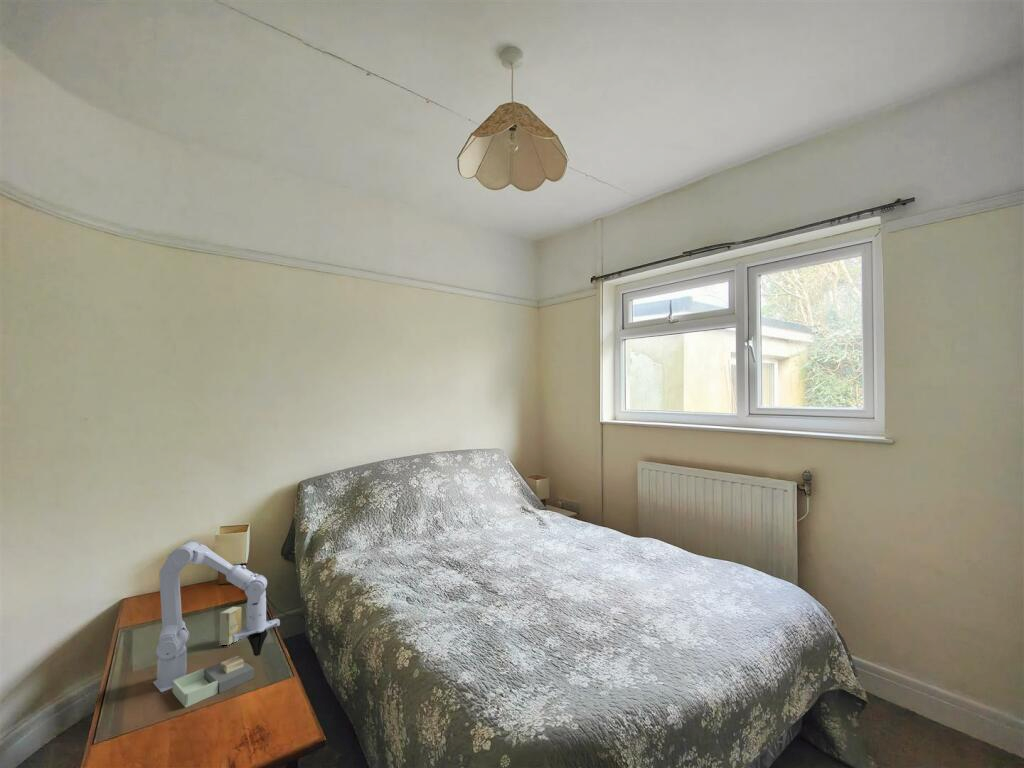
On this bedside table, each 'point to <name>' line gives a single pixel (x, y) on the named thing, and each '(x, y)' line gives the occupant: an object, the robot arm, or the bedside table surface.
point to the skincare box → (229, 624)
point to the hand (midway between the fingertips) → (256, 654)
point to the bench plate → (228, 676)
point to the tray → (193, 688)
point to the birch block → (232, 664)
